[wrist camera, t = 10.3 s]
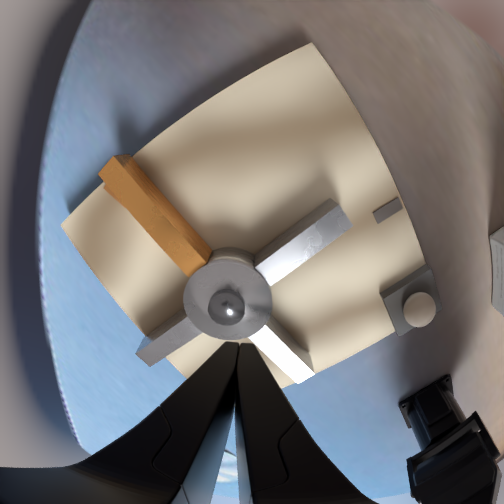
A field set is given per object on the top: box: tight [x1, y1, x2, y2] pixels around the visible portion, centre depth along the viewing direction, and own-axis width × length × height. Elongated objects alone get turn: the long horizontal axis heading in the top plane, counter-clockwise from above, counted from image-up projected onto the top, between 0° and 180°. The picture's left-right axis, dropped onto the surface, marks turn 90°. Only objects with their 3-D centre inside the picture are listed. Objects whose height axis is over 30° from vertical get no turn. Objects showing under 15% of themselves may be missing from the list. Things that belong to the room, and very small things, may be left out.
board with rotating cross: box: [61, 43, 442, 388], centre depth 17 cm, size 20×20×4 cm
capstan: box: [98, 154, 353, 383], centre depth 17 cm, size 16×18×3 cm
